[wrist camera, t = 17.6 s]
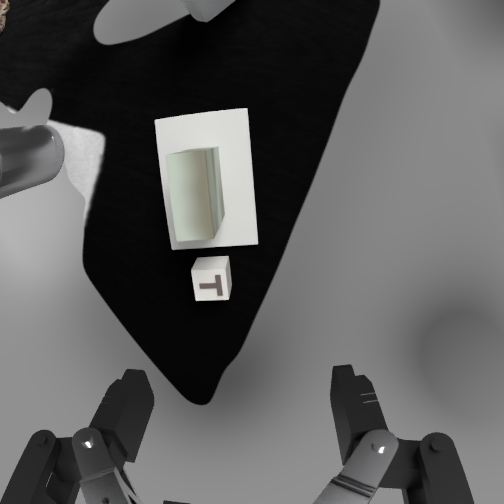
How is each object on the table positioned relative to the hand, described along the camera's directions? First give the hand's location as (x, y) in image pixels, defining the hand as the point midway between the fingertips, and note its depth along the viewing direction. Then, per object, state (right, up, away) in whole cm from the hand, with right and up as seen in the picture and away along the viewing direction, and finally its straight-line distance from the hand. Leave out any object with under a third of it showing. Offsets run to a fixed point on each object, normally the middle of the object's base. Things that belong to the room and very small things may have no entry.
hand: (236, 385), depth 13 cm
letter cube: (-5, +3, +34) cm, 34 cm away
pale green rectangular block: (-5, +15, +28) cm, 32 cm away
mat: (-5, +15, +29) cm, 33 cm away
